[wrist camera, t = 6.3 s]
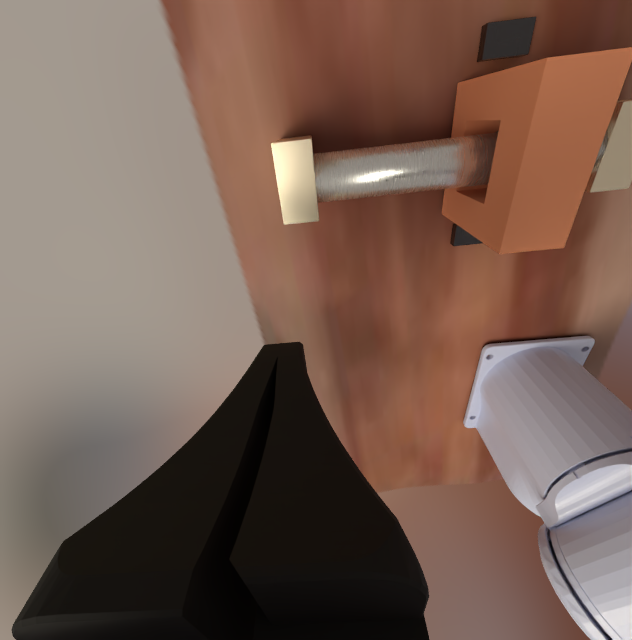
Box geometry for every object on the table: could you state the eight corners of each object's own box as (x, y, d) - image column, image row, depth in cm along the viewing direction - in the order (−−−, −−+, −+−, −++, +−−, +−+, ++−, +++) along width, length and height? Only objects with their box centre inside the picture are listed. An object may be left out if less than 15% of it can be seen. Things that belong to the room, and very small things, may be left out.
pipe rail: (612, 9, 13) (727, -35, 9) (542, 234, 18) (597, 260, 15) (268, 54, 14) (253, 30, 10) (297, 258, 19) (294, 289, 15)
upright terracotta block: (512, 76, 14) (637, 46, 9) (485, 209, 17) (564, 247, 12) (458, 82, 14) (547, 57, 9) (441, 213, 17) (499, 254, 12)
